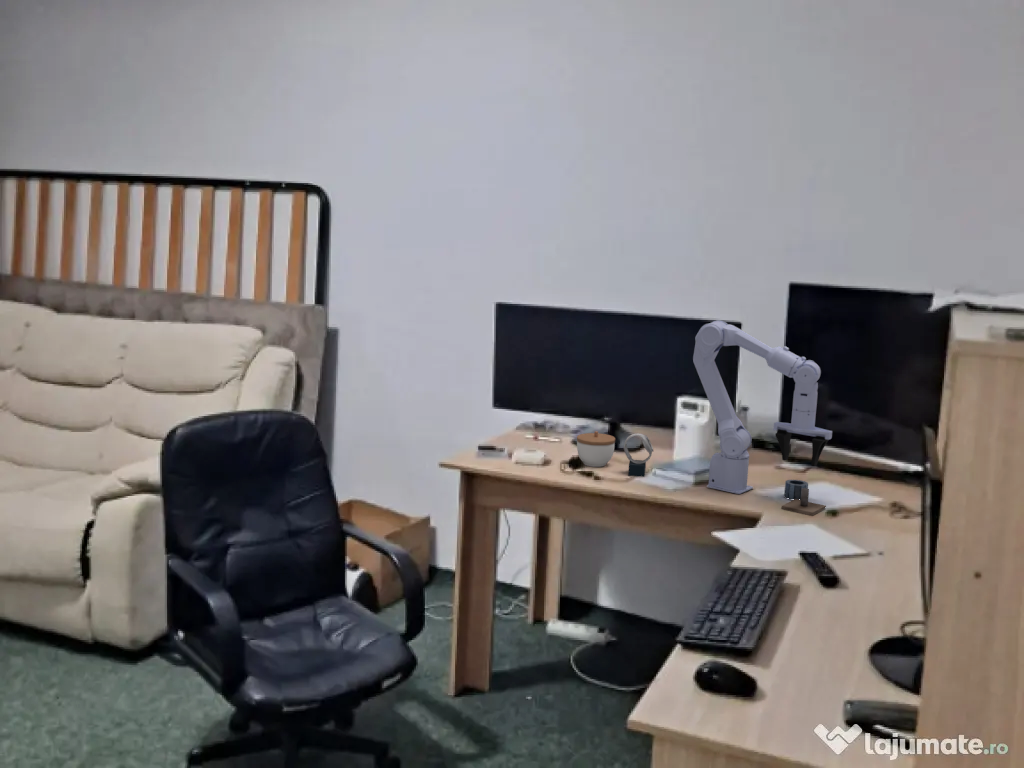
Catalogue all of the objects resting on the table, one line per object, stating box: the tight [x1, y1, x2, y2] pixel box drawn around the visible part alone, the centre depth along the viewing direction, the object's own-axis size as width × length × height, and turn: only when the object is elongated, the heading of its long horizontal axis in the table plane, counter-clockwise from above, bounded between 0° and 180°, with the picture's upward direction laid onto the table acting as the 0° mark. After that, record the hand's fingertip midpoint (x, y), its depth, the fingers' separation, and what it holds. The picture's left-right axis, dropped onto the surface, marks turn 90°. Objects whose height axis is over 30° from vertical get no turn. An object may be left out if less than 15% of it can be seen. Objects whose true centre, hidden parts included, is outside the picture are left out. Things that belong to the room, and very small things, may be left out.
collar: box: [783, 479, 809, 500], centre depth 261 cm, size 6×6×4 cm
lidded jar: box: [576, 430, 616, 468], centre depth 287 cm, size 11×11×9 cm
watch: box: [623, 432, 654, 478], centre depth 278 cm, size 6×8×11 cm
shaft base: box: [780, 488, 827, 517], centre depth 251 cm, size 8×8×5 cm
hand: (799, 462), depth 259 cm, fingers open, 7 cm apart
